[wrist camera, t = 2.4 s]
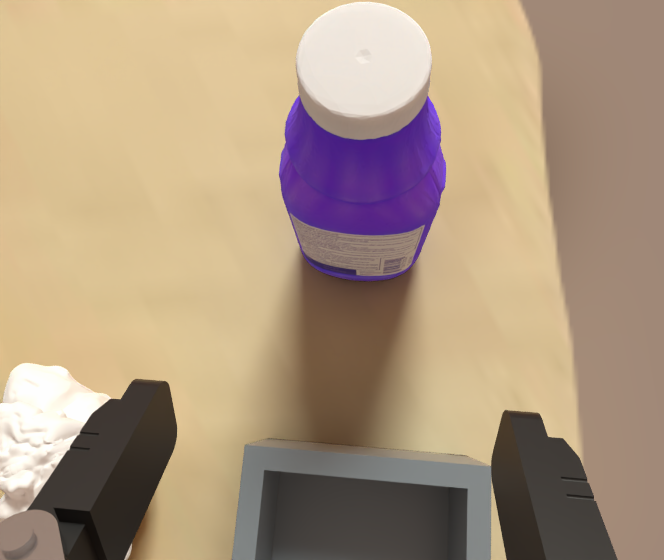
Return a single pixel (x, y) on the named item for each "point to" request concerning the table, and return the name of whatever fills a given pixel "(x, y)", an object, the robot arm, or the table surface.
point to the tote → (360, 504)
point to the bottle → (362, 144)
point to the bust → (39, 429)
